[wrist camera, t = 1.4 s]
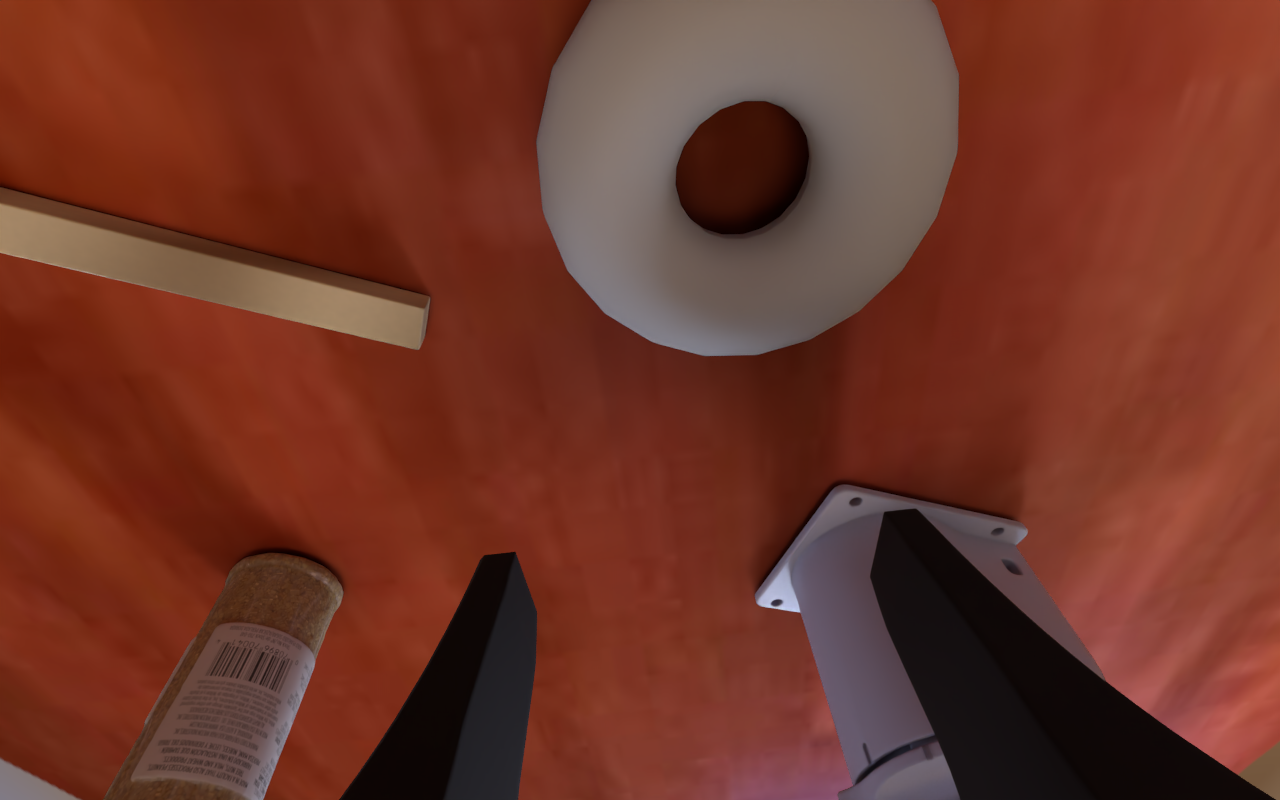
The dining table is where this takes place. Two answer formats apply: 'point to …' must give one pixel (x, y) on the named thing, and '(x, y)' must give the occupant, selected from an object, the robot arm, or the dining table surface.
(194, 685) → the sprinkles bottle
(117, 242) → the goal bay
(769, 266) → the donut
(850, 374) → the dining table surface
